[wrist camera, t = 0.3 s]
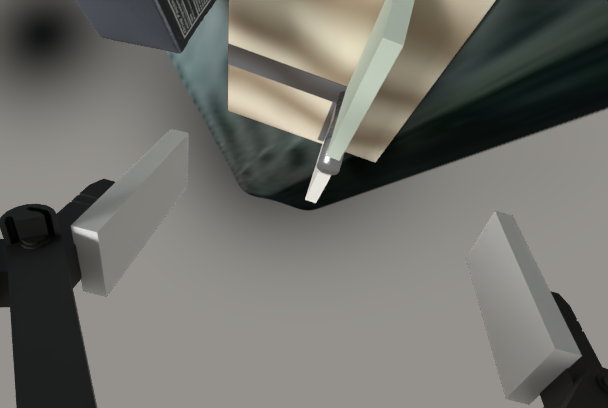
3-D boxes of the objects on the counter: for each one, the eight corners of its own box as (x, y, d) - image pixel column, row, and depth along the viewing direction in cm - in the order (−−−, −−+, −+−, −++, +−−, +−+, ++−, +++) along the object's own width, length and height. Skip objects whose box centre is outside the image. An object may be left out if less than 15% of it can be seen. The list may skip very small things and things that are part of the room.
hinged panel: (406, -49, 24) (382, 37, 21) (424, -42, 24) (403, 45, 21) (346, 88, 36) (325, 156, 33) (359, 93, 36) (339, 160, 33)
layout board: (232, -136, 23) (229, -130, 23) (512, -27, 24) (511, -21, 24) (229, 107, 45) (227, 111, 45) (376, 159, 46) (375, 163, 46)
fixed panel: (338, 107, 38) (318, 172, 35) (349, 112, 38) (330, 176, 35) (323, 142, 44) (304, 199, 41) (333, 145, 44) (315, 203, 41)
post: (342, 87, 36) (319, 159, 33) (362, 94, 36) (341, 167, 33) (336, 100, 38) (314, 169, 35) (355, 107, 38) (335, 177, 35)
